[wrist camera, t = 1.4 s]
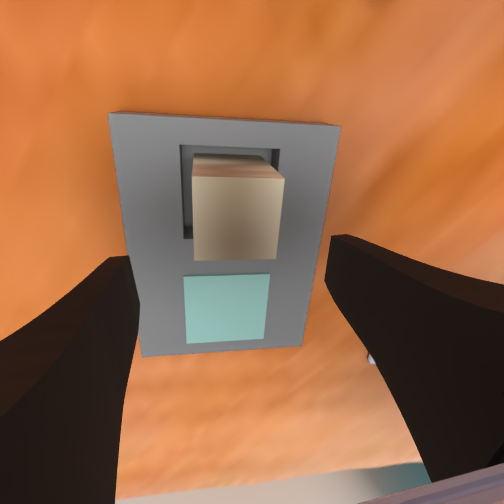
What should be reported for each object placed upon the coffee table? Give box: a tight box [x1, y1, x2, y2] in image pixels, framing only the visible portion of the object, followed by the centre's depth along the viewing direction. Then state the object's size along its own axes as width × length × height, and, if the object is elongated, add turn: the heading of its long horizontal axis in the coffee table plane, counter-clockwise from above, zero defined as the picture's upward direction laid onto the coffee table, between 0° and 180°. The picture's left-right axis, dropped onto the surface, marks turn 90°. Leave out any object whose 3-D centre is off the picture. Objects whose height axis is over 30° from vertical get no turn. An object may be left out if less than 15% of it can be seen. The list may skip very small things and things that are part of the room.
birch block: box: [192, 153, 285, 261], centre depth 16 cm, size 4×4×6 cm
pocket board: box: [108, 111, 341, 357], centre depth 20 cm, size 12×16×3 cm
